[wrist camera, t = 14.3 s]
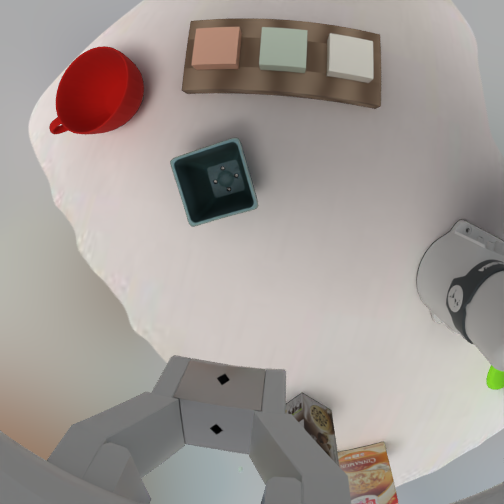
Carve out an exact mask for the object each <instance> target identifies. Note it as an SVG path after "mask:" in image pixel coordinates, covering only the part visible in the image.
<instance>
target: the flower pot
mask: <svg viewBox="0 0 504 504" xmlns="http://www.w3.org/2000/svg"><path fill="white" fill-rule="evenodd" d="M170 164H171V168H172V171H173V174H174V177H175V180H176V183H177V186H178V189H179V193H180V196H181V199H182V202H183V205H184V209H185V212H186V215H187V219H188V222H189V224H190V225H191V226H193V227H194V226H198V225H201V224H204V223H207V222H211V221H214V220H218V219H221V218H225V217H228V216H232V215H235V214H239V213H243V212H247V211H251V210H255V209H257V207H258V201H257V196H256V193H255V190H254V186H253V183H252V180H251V176H250V173H249V169H248V166H247V162H246V159H245V155H244V152H243V148H242V145H241V143H240V140H239V139H238V138H231V139H228V140H225V141H222V142H219V143H216V144H213V145H211V146H208V147H205V148H202V149H199V150H195V151H193V152H190V153H187V154H184V155H181V156H178V157H175V158H173V159H172V160H171V161H170ZM222 166H223V167H224V170H222V169H221V167H222ZM235 174H238V177H235ZM214 180H217V183H216V184H215V183H214ZM227 188H231V190H230V191H228V190H227Z"/></svg>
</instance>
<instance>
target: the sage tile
mask: <svg viewBox="0 0 504 504" xmlns="http://www.w3.org/2000/svg"><path fill="white" fill-rule="evenodd" d="M306 56H307V30H300V29H288V28H273V27H262V33H261V46H260V58H259V66H260V70H273V71H287V72H298V73H305V70H306Z"/></svg>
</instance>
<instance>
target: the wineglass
mask: <svg viewBox="0 0 504 504" xmlns="http://www.w3.org/2000/svg"><path fill="white" fill-rule="evenodd" d="M487 385H488V387H489V388H491V389H501V388H503V387H504V371H500V370H497V369H495V368H494V367H493V366H492V365H491V367H490V370H489V372H488V375H487Z"/></svg>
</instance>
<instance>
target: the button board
mask: <svg viewBox="0 0 504 504" xmlns="http://www.w3.org/2000/svg"><path fill="white" fill-rule="evenodd" d="M213 27H240V30H241V33H242V37H241V47H240V58H239V69H207V70H196V69H195V68H194V67H193V66H192V65H191V64H192V56H193V48H194V41H195V34H196V29H198V28H213ZM262 27H273V28H288V29H300V30H307V56H306V70H305V73H298V72H287V71H273V70H260V66H259V58H260V46H261V33H262ZM330 33H332V34H338V35H344V36H349V37H355V38H360V39H365V40H369V41H373V80H372V81H370V82H369V83H365V82H360V81H355V80H349V79H343V78H337V77H330V76H327V40H328V37H329V34H330ZM182 91H184V92H185V93H187V94H195V93H242V94H265V95H280V96H292V97H302V98H311V99H319V100H327V101H334V102H340V103H346V104H352V105H358V106H364V107H369V108H374V109H376V108H378V107H380V106H381V46H380V35H379V34H375V33H370V32H366V31H361V30H356V29H351V28H346V27H340V26H334V25H327V24H320V23H312V22H303V21H292V20H277V19H213V20H199V21H191V23H190V30H189V37H188V43H187V51H186V58H185V66H184V75H183V84H182Z"/></svg>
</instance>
